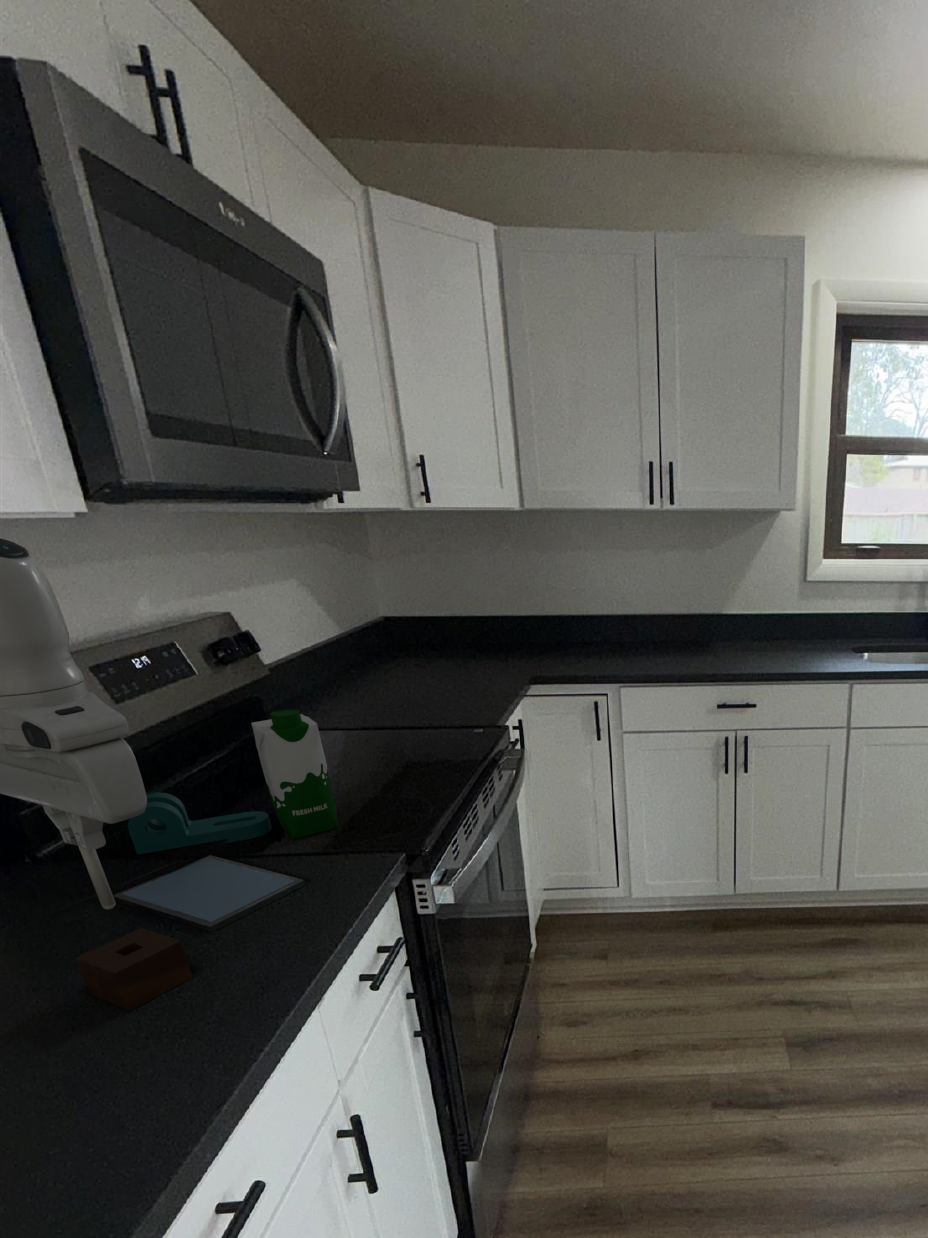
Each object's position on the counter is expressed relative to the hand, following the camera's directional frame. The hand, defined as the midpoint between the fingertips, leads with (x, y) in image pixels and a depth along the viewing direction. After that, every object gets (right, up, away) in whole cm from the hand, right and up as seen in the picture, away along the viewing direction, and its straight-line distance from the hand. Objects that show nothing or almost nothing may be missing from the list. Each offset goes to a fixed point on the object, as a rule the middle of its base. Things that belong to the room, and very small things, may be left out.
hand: (86, 845), depth 80 cm
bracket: (-17, +1, +44) cm, 47 cm away
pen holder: (0, -16, +8) cm, 18 cm away
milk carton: (-3, +3, +49) cm, 49 cm away
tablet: (-5, -7, +28) cm, 29 cm away
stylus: (0, -7, +3) cm, 8 cm away
